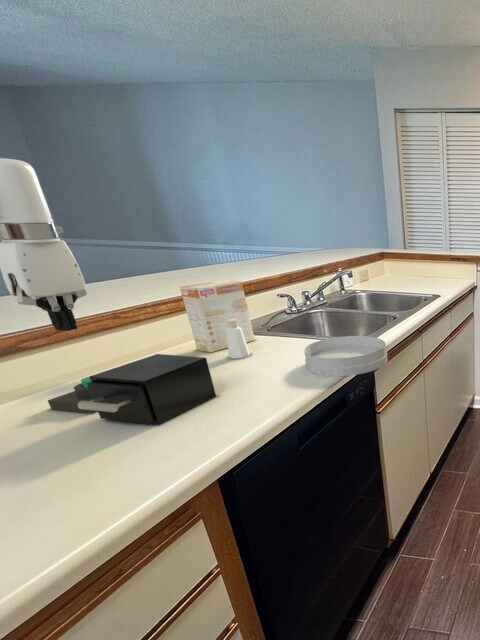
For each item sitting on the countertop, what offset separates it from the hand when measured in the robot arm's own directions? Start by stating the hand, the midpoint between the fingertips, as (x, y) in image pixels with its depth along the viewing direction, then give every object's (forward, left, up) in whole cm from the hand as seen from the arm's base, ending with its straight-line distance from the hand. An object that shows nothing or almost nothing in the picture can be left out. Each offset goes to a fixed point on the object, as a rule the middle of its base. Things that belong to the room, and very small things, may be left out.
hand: (66, 329), depth 85 cm
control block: (-4, +3, -18) cm, 18 cm away
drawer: (+13, -1, -17) cm, 21 cm away
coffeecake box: (-9, +46, -18) cm, 51 cm away
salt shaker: (+3, +37, -18) cm, 42 cm away
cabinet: (+13, +3, -18) cm, 22 cm away
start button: (-4, +3, -14) cm, 15 cm away
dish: (+37, +38, -18) cm, 57 cm away
